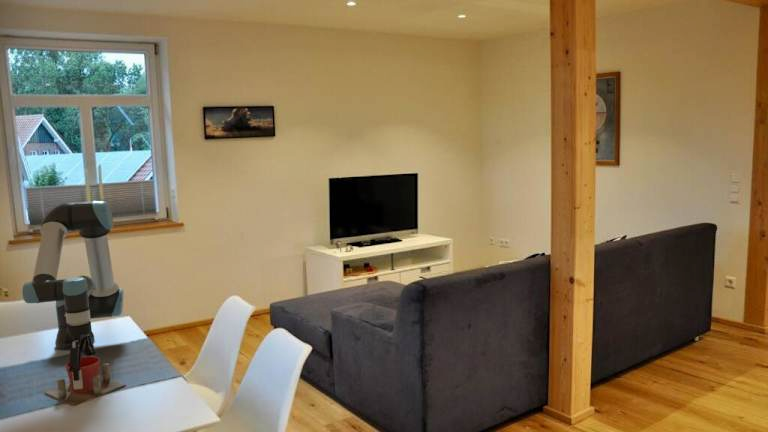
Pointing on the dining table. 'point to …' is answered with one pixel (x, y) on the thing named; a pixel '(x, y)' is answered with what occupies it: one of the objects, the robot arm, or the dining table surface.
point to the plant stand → (99, 388)
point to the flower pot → (86, 372)
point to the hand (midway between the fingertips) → (84, 380)
